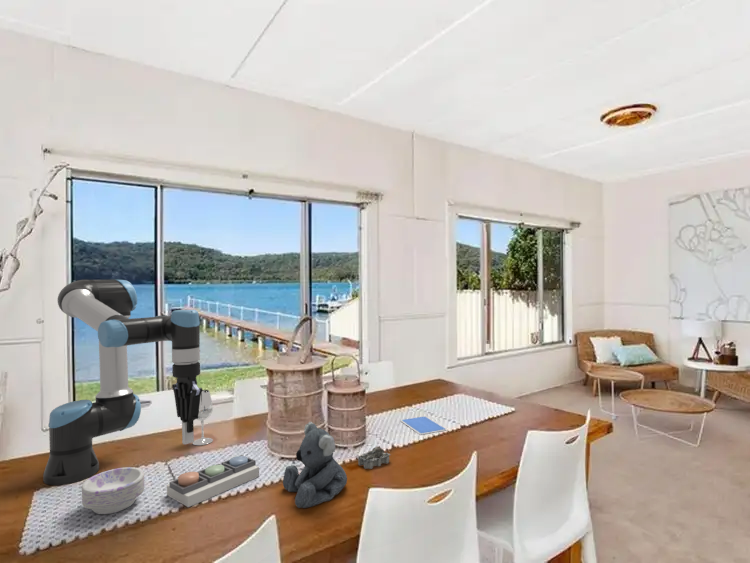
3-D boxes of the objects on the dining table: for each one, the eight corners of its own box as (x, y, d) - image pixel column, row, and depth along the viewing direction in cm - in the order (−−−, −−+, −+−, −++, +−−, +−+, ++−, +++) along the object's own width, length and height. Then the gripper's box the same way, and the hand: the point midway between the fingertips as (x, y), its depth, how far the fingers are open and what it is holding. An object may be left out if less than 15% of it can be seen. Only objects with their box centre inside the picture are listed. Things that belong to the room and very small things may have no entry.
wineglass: (208, 445, 169) (207, 393, 169) (188, 445, 169) (187, 394, 169) (216, 438, 176) (215, 388, 176) (197, 438, 177) (196, 389, 177)
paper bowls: (99, 526, 113) (99, 495, 113) (71, 511, 121) (71, 482, 121) (155, 500, 126) (155, 473, 126) (127, 488, 134) (126, 462, 134)
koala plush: (280, 487, 133) (278, 423, 133) (334, 473, 142) (332, 413, 142) (299, 513, 118) (297, 440, 118) (358, 496, 126) (357, 428, 126)
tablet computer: (447, 432, 180) (447, 428, 180) (420, 436, 175) (420, 433, 175) (425, 418, 198) (425, 415, 198) (400, 422, 193) (400, 419, 193)
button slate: (236, 470, 138) (236, 464, 138) (226, 465, 141) (225, 460, 141) (251, 464, 142) (251, 458, 142) (240, 460, 146) (240, 454, 146)
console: (187, 507, 122) (186, 491, 122) (166, 495, 129) (165, 480, 129) (259, 475, 141) (259, 462, 141) (238, 466, 148) (237, 453, 148)
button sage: (211, 480, 131) (211, 474, 131) (201, 475, 134) (201, 469, 134) (228, 473, 135) (227, 467, 135) (217, 468, 139) (217, 463, 139)
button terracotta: (184, 488, 124) (184, 481, 124) (174, 482, 128) (174, 476, 128) (202, 480, 129) (202, 474, 129) (192, 476, 132) (192, 470, 132)
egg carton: (380, 456, 156) (380, 445, 156) (393, 463, 149) (392, 451, 149) (354, 463, 150) (354, 451, 150) (366, 471, 143) (366, 458, 143)
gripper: (210, 362, 127) (212, 443, 127) (187, 358, 135) (188, 434, 135) (185, 366, 121) (187, 451, 121) (162, 362, 129) (164, 441, 129)
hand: (188, 442), depth 128 cm, fingers closed
